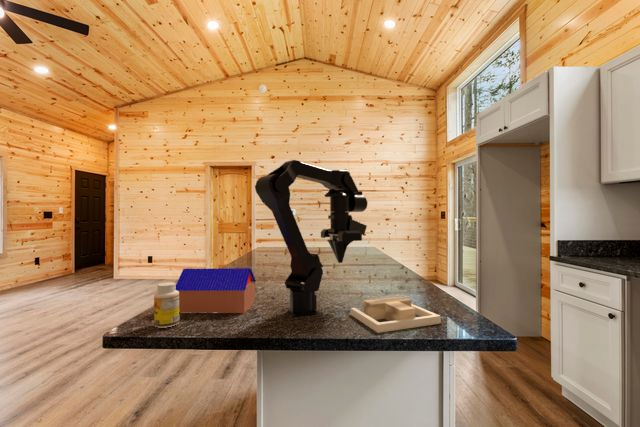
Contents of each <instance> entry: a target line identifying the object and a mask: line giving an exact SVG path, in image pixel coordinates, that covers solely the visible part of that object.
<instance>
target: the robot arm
mask: <svg viewBox="0 0 640 427" xmlns="http://www.w3.org/2000/svg"><path fill="white" fill-rule="evenodd" d="M297 178H298V179H302V180H304V181H305V180H306V181H311V182H314V183H317V184H320V185H322V186H323V187H324V188H326V189H327V190H328V191H327V192H326V193H325V194H324V197H325V198H329V209H330V210H329V213H330V214H329V215H327V216H328V217H327V218H328V219H329V220H330V228H323V229H322V230H320V238H322V239H326V238H329V239H327V240H326V241H327V242H328V244H329V246H330V248H331V249H332V250H331V251H332V252H333V254H334V256H335V258H336V261H337V263H339V264H341V263H343V261H344V257H345V254H346V250H347V248H348V246H349V245H350V244H351V243H353V242H356V241H357V242H358V241H359V242H360V241H361V242H362V241H363V236H365V234H366V230H367V227H368V225H366V224H365V223H361V222H359V221H357V220H354V219H353V216H352V214H350V213H362V212H365V210H366V209H367V207H368V200H367V197H366V196H365V195H363V191H362V190H359V189H358V187H357V185H356V183H355V182H354V181H355V180H354V179H353V177H352V176H351V172H350V171H348V170H344V169H343V170H342V169H334V170H331V169H325V168H323V167H319V166H316V165H311V164H308V163H305V162H302V161H301V160H298V159H292V160H288V161H285V162H284V163H282V164H281V165H280V166H279V167H277V168H276V169H274V170H273V171H271V172H270V173H268V174H266V175H263V176H260V177H259V178H258V179H257V180H256V183H255V185H254V188H255V192H256V194H257V196H258V197H259V199H260V201H261V202H262V203H263V204H264V206H266V207H267V208H268V209H269V210H270V211H271V213H272V215H273V217H274V220H275V221H276V224H277V226H278V230H279V231H280V233H281V236H282V239H283V241H284V243H285V245H286V247H287V250H288V252H289V255H290V258H291V259H290V264H289V265H290V270H291V272H290V274H288V277H287V278H286V279H285V280H284V284H285V288H286V289H287V290H289V308H288V311H289V313H290V314H291V315H292V316H294V317H300V316H307V315H315V314H318V310H317V304H318V303H317V294H316V293H315V292H318V291H319V289H320V285H321V283H322V282H321V280H322V277H323V274H324V270H323V267H324V265H323V264H322V262H321V260H320V256H319V254H318V253H311V252H310V251H309V250H308V247H307V245H306V242H305V240H304V238H303V235H302V232H301V230H300V227H299V225H298V223H297V220H296V217H295V216H294V213H293V211H292V208H291V205H290V201H291V200H290V199H291V190H290V187H291V186H292V184H294V182H295V181H296V179H297Z"/></svg>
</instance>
